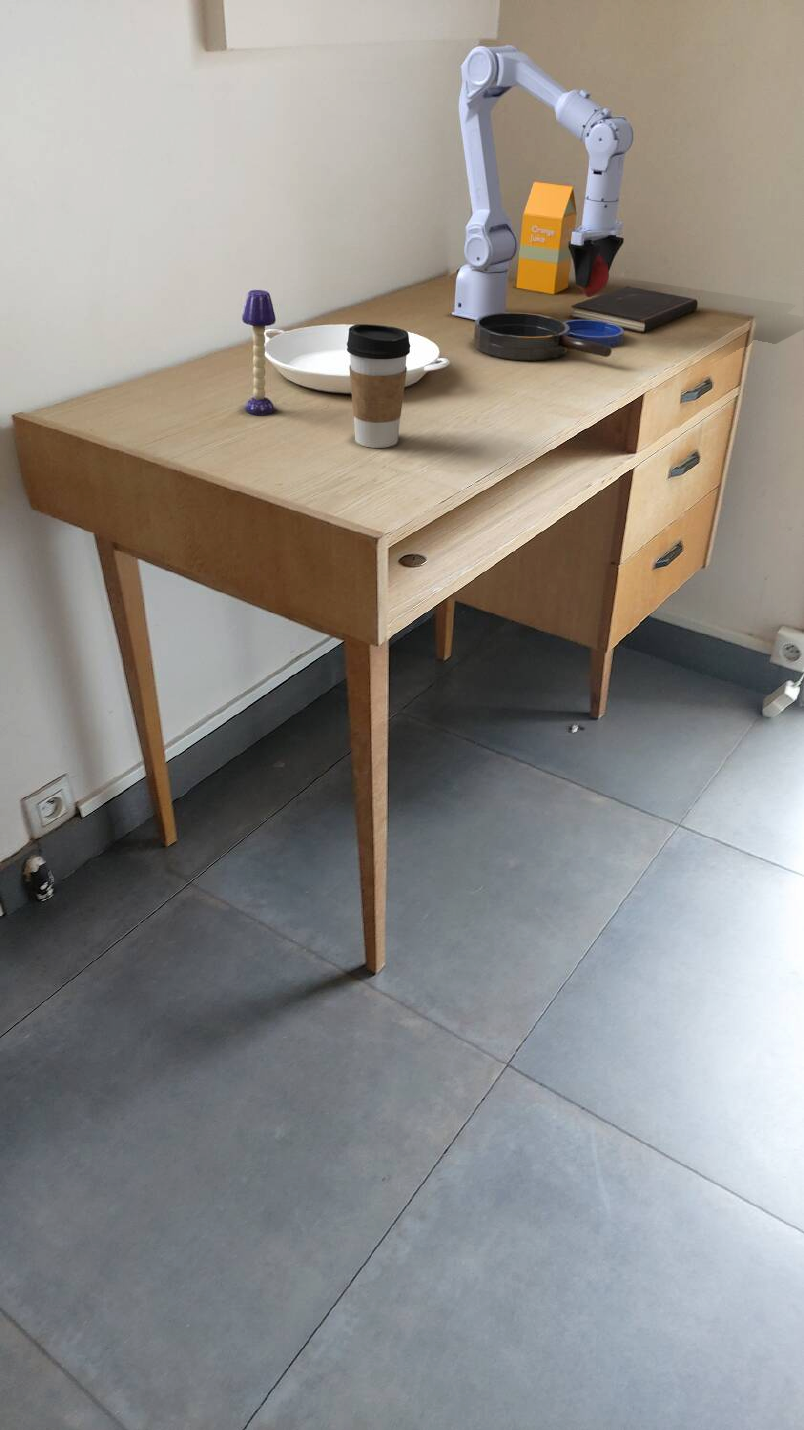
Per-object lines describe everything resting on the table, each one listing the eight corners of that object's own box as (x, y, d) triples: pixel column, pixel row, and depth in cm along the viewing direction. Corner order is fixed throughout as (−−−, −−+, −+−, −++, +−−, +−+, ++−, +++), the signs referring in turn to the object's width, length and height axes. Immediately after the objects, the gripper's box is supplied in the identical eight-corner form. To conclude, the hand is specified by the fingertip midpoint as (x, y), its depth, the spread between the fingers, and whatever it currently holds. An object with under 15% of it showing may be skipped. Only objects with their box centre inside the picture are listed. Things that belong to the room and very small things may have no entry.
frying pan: (455, 348, 184) (456, 324, 182) (506, 330, 195) (508, 307, 193) (534, 367, 176) (537, 343, 174) (583, 347, 187) (586, 324, 185)
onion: (604, 294, 189) (611, 246, 185) (606, 302, 185) (613, 253, 180) (572, 292, 190) (578, 244, 185) (573, 299, 185) (579, 251, 181)
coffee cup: (344, 429, 149) (345, 320, 140) (404, 430, 149) (408, 321, 141) (347, 451, 142) (348, 338, 133) (409, 451, 143) (414, 339, 134)
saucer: (545, 338, 191) (546, 328, 190) (578, 326, 199) (579, 316, 198) (602, 351, 185) (603, 341, 184) (633, 338, 193) (635, 328, 192)
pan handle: (554, 346, 180) (555, 335, 179) (559, 344, 181) (560, 333, 180) (607, 359, 175) (609, 348, 174) (612, 356, 176) (614, 345, 175)
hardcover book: (570, 317, 204) (571, 305, 202) (625, 297, 219) (627, 285, 217) (644, 333, 196) (646, 321, 194) (696, 311, 211) (698, 299, 210)
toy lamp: (271, 403, 157) (267, 286, 147) (283, 413, 153) (279, 294, 144) (241, 407, 155) (234, 289, 145) (252, 417, 151) (246, 297, 142)
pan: (216, 379, 165) (214, 351, 163) (305, 337, 186) (305, 311, 184) (408, 417, 154) (409, 387, 151) (480, 367, 175) (482, 340, 173)
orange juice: (553, 294, 219) (565, 188, 207) (515, 287, 222) (525, 183, 211) (568, 287, 224) (581, 184, 213) (531, 281, 228) (541, 179, 216)
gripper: (601, 207, 171) (590, 294, 179) (642, 197, 181) (630, 280, 189) (564, 201, 175) (554, 287, 183) (606, 192, 184) (595, 274, 192)
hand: (590, 283), depth 186 cm, fingers closed on onion, 6 cm apart
